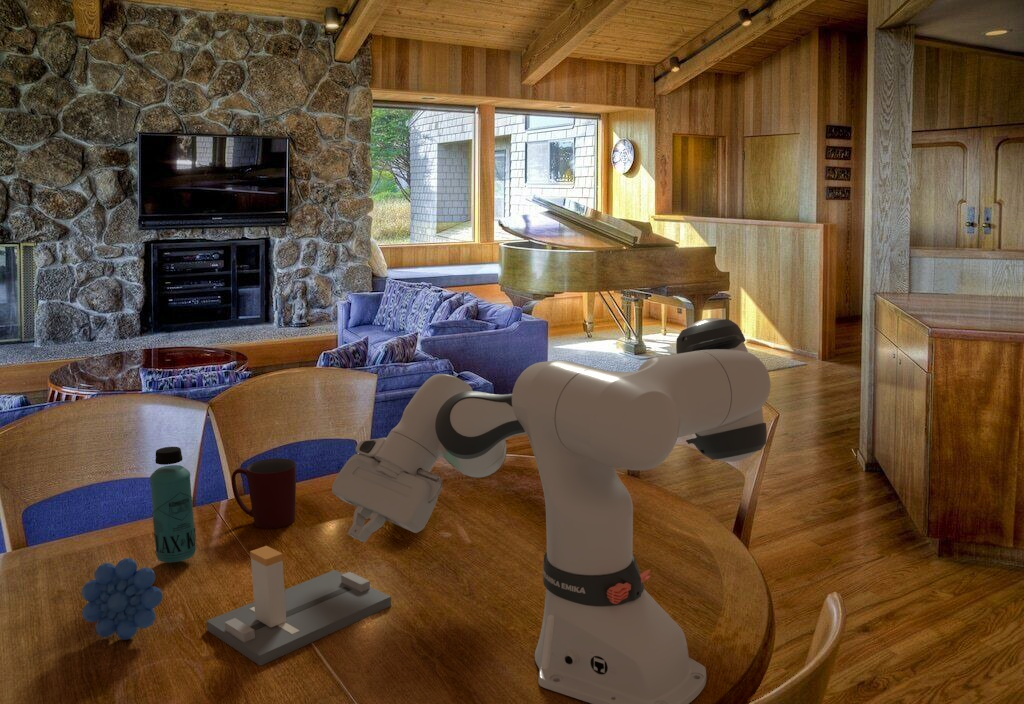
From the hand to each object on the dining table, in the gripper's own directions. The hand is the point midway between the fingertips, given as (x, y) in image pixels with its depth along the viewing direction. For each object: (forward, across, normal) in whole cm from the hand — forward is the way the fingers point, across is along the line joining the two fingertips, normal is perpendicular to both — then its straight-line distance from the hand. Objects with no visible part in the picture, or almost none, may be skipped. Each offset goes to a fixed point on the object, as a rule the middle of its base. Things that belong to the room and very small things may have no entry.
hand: (355, 538), depth 131 cm
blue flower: (+28, +12, +16) cm, 34 cm away
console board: (+14, -2, +2) cm, 14 cm away
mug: (+3, +36, -11) cm, 37 cm away
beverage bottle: (+17, +30, +4) cm, 35 cm away
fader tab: (+16, -2, +7) cm, 17 cm away
